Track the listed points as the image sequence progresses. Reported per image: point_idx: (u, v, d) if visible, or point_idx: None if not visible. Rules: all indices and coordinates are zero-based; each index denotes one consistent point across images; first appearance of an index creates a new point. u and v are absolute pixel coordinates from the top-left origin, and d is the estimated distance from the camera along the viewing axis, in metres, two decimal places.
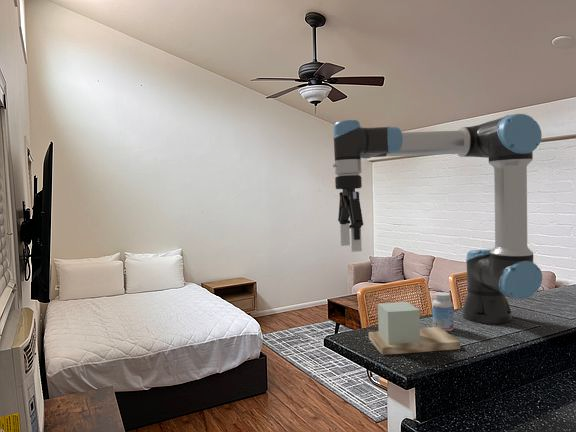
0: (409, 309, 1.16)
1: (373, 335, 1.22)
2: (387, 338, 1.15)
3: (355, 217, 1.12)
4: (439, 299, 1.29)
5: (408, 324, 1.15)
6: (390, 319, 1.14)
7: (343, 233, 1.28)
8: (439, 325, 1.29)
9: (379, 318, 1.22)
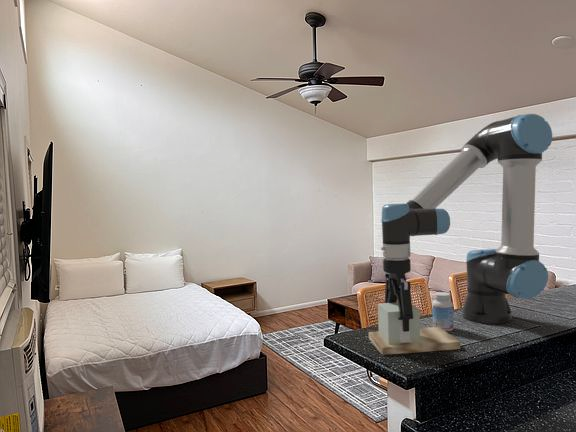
0: None
1: (373, 335, 1.22)
2: (387, 338, 1.15)
3: (405, 310, 1.11)
4: (439, 299, 1.29)
5: None
6: (390, 319, 1.14)
7: None
8: (439, 325, 1.29)
9: (379, 318, 1.22)
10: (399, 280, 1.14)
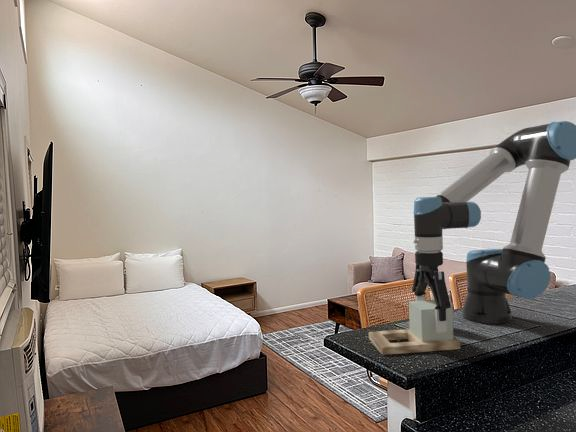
0: None
1: (373, 335, 1.22)
2: (420, 336, 1.16)
3: (442, 299, 1.10)
4: None
5: None
6: (423, 317, 1.15)
7: None
8: None
9: (410, 316, 1.23)
10: (432, 272, 1.15)
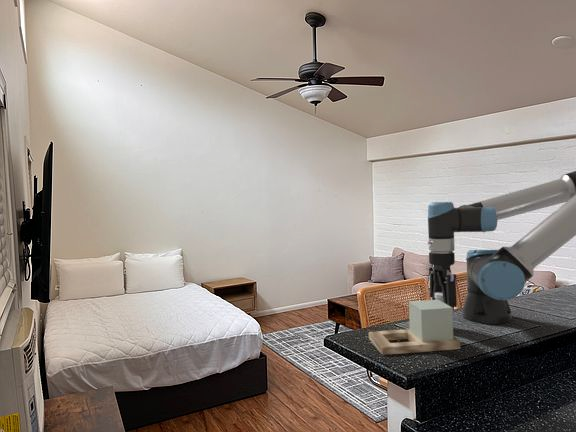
0: (442, 307, 1.17)
1: (373, 335, 1.22)
2: (420, 336, 1.16)
3: (450, 300, 1.24)
4: (439, 299, 1.29)
5: (441, 321, 1.16)
6: (423, 317, 1.15)
7: None
8: None
9: (410, 316, 1.23)
10: (445, 272, 1.26)
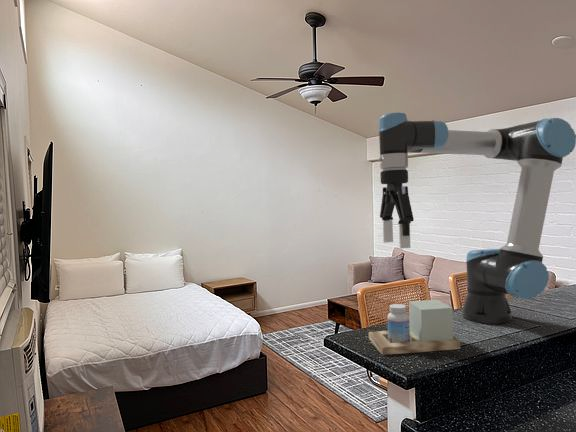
0: (442, 307, 1.17)
1: (373, 335, 1.22)
2: (420, 336, 1.16)
3: (405, 212, 1.08)
4: (394, 312, 1.18)
5: (441, 321, 1.16)
6: (423, 317, 1.15)
7: (386, 229, 1.24)
8: (394, 341, 1.17)
9: (410, 316, 1.23)
10: (396, 188, 1.13)
